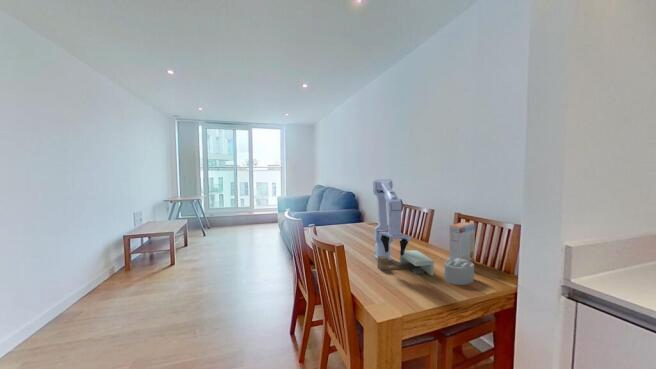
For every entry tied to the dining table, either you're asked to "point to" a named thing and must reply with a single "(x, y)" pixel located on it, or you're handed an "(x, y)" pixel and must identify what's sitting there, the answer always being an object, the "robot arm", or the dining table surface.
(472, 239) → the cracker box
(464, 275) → the lumpy-topped squat cylinder
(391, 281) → the dining table surface
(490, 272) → the dining table surface
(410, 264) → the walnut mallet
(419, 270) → the grey square block
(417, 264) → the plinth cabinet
